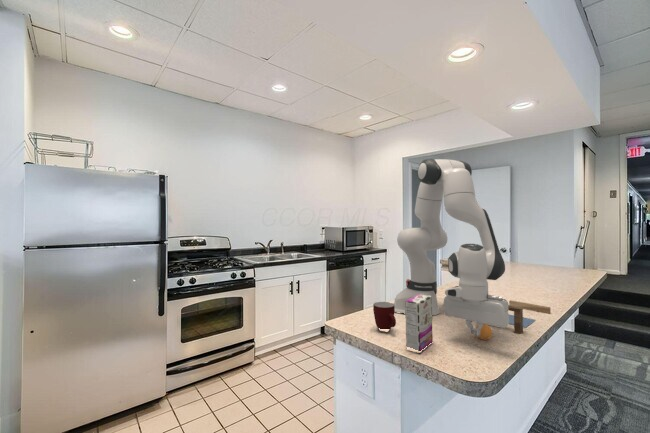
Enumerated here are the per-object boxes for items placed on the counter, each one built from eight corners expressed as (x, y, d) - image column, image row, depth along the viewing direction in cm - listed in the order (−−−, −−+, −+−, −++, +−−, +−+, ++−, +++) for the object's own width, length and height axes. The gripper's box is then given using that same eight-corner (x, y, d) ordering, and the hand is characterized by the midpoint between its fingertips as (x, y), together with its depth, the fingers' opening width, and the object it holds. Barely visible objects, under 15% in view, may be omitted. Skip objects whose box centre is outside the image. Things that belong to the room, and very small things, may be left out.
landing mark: (525, 327, 117) (525, 327, 117) (490, 319, 127) (490, 319, 127) (535, 320, 125) (535, 319, 125) (501, 313, 135) (501, 312, 135)
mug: (404, 333, 113) (404, 306, 113) (388, 338, 108) (388, 310, 108) (384, 325, 121) (383, 300, 122) (369, 329, 117) (369, 303, 117)
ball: (476, 341, 105) (475, 325, 105) (474, 335, 110) (473, 320, 110) (493, 343, 103) (493, 327, 103) (490, 337, 108) (490, 321, 108)
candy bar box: (419, 339, 107) (418, 293, 107) (433, 343, 103) (432, 295, 103) (405, 350, 98) (404, 300, 98) (419, 354, 95) (419, 302, 95)
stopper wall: (549, 313, 134) (549, 308, 134) (509, 306, 146) (509, 301, 146) (550, 312, 135) (550, 307, 135) (510, 305, 147) (510, 300, 147)
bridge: (520, 334, 110) (519, 309, 111) (479, 324, 121) (479, 301, 122) (523, 332, 112) (522, 307, 113) (482, 322, 123) (482, 300, 124)
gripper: (511, 296, 95) (513, 340, 95) (448, 287, 110) (449, 324, 110) (504, 299, 91) (506, 345, 90) (440, 289, 106) (441, 329, 106)
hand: (474, 334), depth 100 cm, fingers closed
